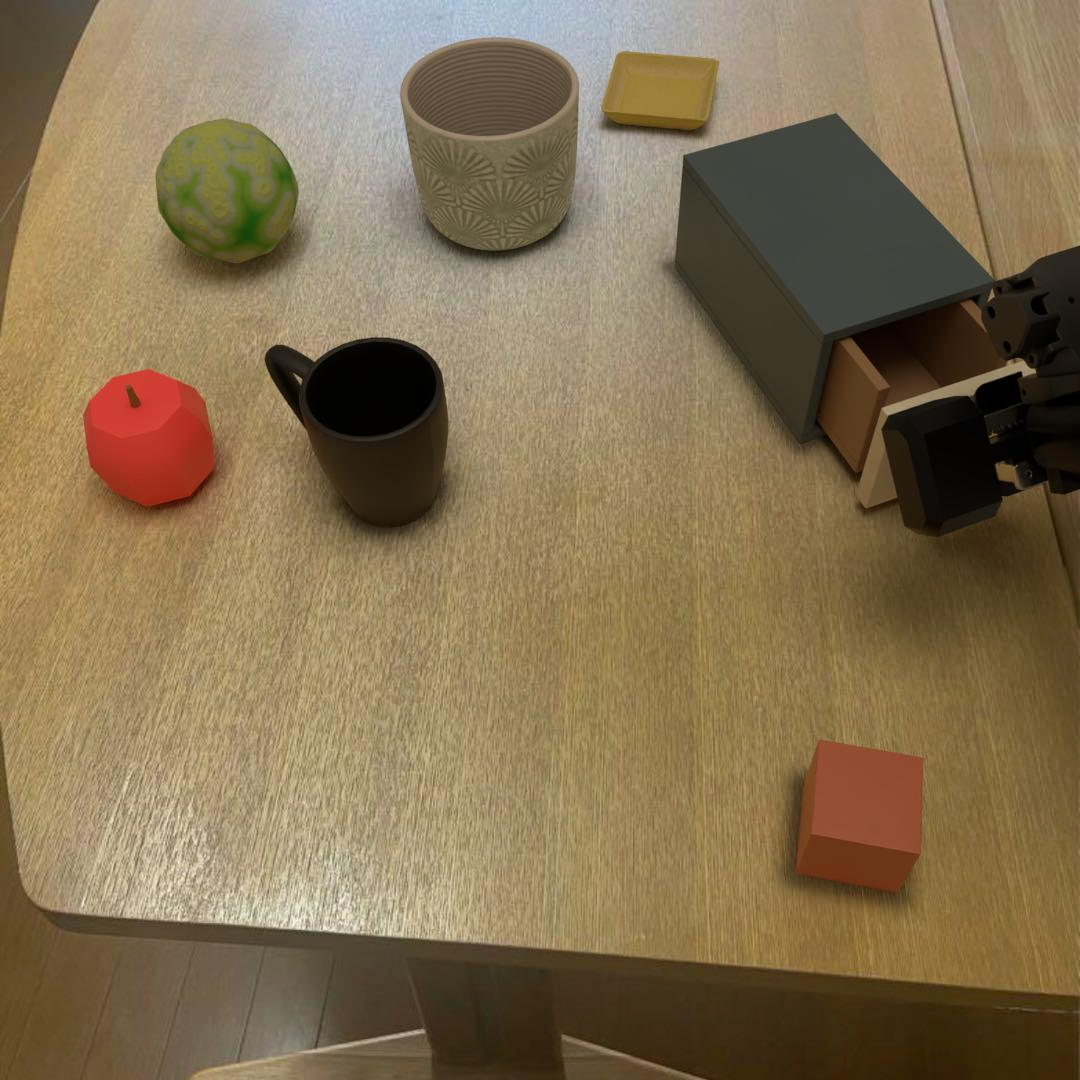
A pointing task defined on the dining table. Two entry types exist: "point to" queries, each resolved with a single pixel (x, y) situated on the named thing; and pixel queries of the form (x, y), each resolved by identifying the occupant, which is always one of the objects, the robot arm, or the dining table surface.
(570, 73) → the planter
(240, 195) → the decorative ball
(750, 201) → the cabinet
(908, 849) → the block
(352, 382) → the mug
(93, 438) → the apple
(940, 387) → the drawer
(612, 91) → the saucer
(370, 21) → the dining table surface
